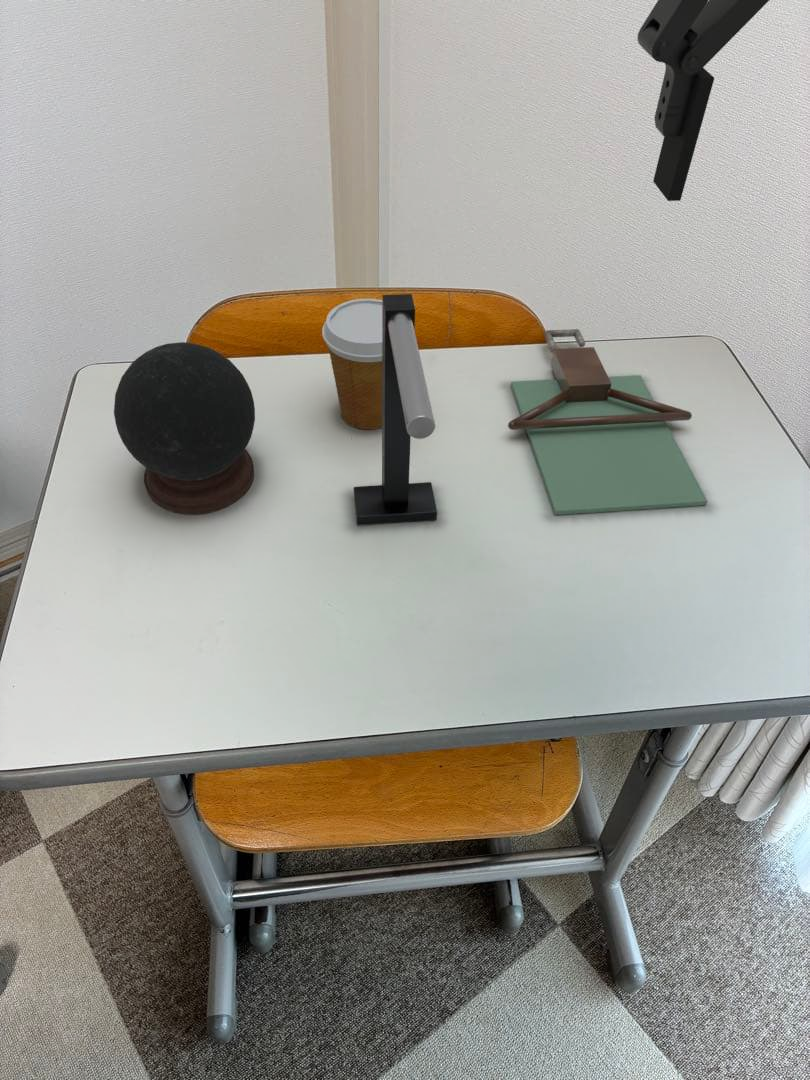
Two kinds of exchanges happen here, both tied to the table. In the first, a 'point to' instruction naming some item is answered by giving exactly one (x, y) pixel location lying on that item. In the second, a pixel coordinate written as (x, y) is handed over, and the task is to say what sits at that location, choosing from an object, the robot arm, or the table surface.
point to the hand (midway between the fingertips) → (774, 188)
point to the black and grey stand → (399, 423)
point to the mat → (607, 454)
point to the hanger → (588, 390)
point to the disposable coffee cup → (357, 360)
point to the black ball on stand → (187, 426)
